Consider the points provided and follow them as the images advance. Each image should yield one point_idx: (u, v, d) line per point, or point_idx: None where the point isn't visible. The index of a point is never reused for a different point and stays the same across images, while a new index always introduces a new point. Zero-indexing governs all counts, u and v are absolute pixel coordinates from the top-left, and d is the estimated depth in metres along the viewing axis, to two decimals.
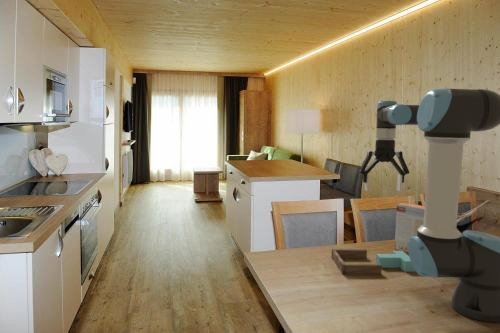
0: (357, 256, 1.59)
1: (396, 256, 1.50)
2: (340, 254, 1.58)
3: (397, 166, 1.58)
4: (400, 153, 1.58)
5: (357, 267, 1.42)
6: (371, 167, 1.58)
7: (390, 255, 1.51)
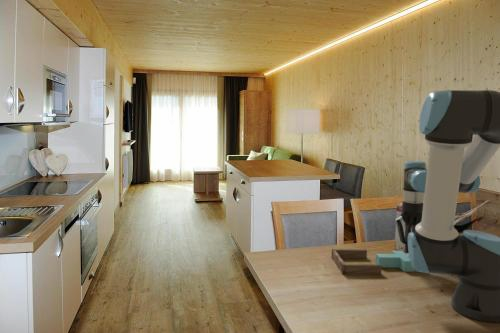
0: (357, 256, 1.59)
1: (395, 256, 1.50)
2: (340, 254, 1.58)
3: None
4: None
5: (357, 267, 1.42)
6: (408, 235, 1.49)
7: (389, 255, 1.51)
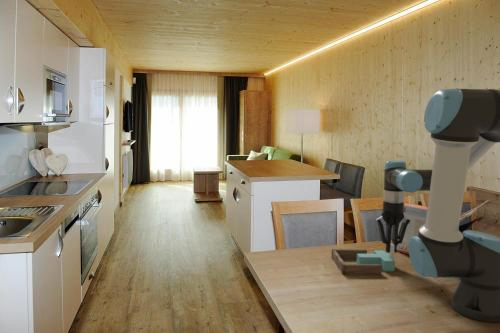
0: None
1: (376, 256, 1.50)
2: (340, 254, 1.58)
3: (396, 233, 1.49)
4: (407, 221, 1.48)
5: (357, 267, 1.42)
6: (389, 235, 1.49)
7: (370, 255, 1.51)
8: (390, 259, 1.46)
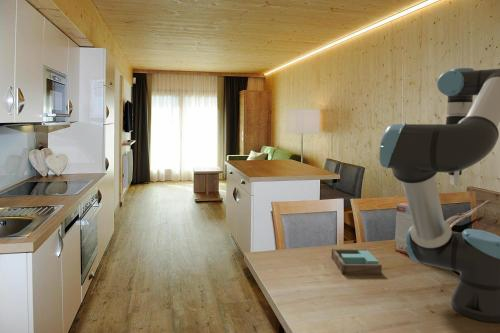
0: None
1: (360, 256, 1.50)
2: (340, 254, 1.58)
3: None
4: None
5: (357, 267, 1.42)
6: None
7: (354, 255, 1.51)
8: (374, 259, 1.46)
